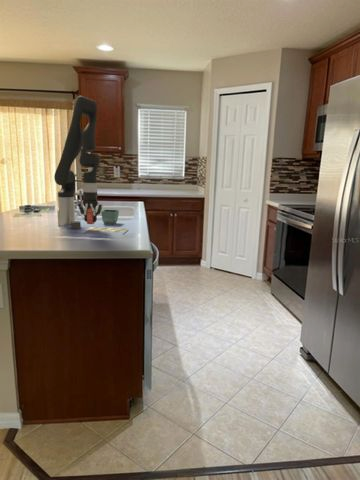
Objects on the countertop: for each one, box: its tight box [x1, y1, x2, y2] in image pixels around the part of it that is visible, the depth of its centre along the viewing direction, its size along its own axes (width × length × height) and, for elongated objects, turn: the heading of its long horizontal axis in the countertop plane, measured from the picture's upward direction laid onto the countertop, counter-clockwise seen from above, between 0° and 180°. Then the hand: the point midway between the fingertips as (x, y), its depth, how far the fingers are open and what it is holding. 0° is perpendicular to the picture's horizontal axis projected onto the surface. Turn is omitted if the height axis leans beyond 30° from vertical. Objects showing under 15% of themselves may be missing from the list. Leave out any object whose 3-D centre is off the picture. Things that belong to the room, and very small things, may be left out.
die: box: [70, 220, 82, 230], centre depth 199 cm, size 5×5×5 cm
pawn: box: [86, 209, 95, 225], centre depth 196 cm, size 4×4×9 cm
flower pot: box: [100, 209, 120, 225], centre depth 216 cm, size 9×9×9 cm
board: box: [86, 226, 129, 235], centre depth 198 cm, size 22×10×1 cm, turn 84°
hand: (90, 221), depth 197 cm, fingers closed on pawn, 4 cm apart
